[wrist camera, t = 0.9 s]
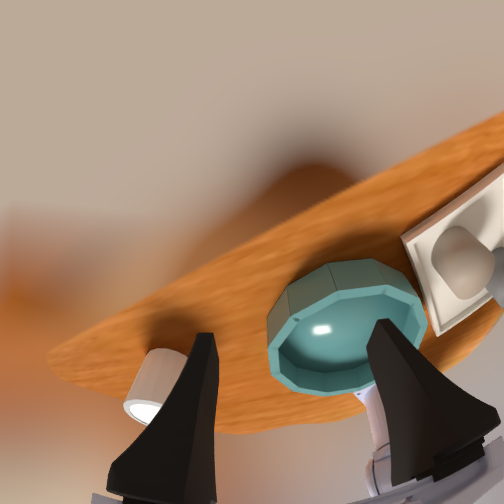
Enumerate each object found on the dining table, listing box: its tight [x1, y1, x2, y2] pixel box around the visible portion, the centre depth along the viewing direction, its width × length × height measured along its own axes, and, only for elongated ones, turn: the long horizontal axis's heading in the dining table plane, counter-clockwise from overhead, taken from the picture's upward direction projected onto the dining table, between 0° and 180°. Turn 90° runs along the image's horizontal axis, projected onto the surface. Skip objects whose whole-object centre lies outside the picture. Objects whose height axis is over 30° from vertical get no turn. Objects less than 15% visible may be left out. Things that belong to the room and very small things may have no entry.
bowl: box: [267, 258, 428, 396], centre depth 23 cm, size 14×14×4 cm
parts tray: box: [400, 163, 504, 337], centre depth 20 cm, size 14×13×1 cm
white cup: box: [123, 348, 188, 426], centre depth 25 cm, size 7×7×7 cm
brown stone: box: [431, 226, 495, 300], centre depth 18 cm, size 5×5×4 cm
